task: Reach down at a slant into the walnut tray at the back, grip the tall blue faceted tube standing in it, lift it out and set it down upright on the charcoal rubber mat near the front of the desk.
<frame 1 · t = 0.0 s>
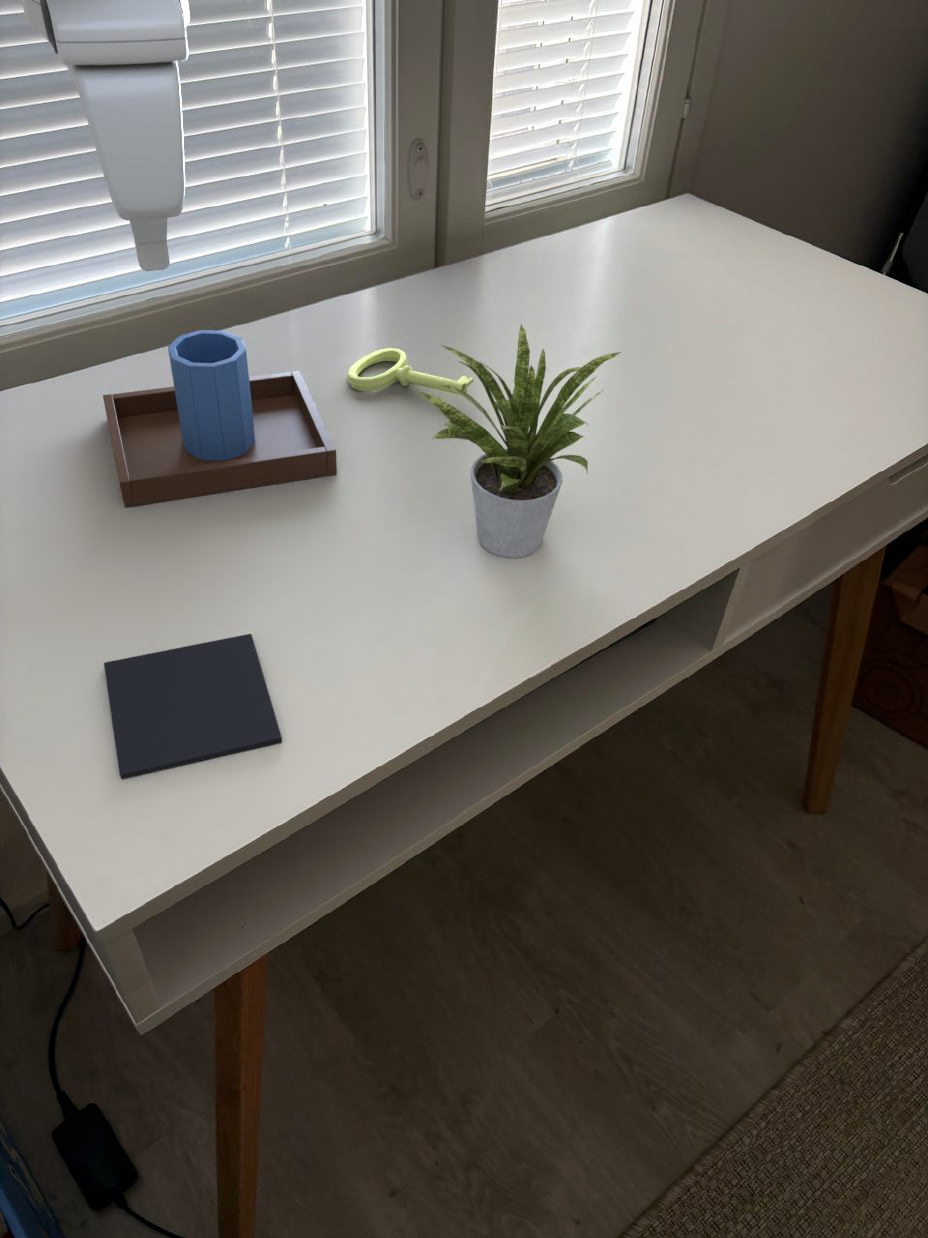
hand: (144, 234, 65), 23 cm above the table, tool pointing down, fingers open, 8 cm apart
mat: (191, 704, 67), on the table
tray: (219, 446, 89), on the table
house plant: (517, 530, 83), on the table
key: (406, 386, 98), on the table
blue faceted tube: (219, 441, 88), resting on tray
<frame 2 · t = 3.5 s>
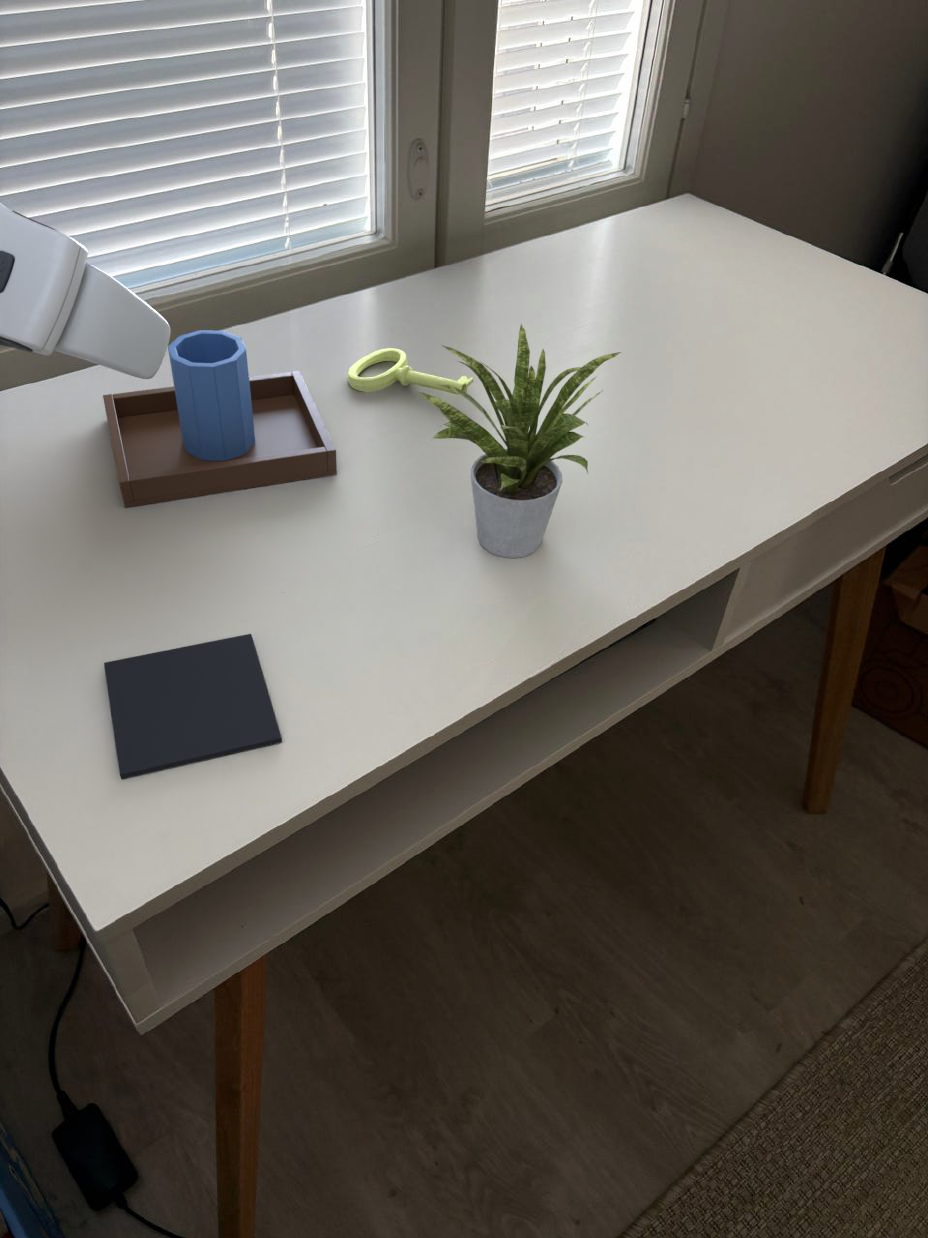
hand: (90, 343, 70), 16 cm above the table, tool tilted 45°, fingers open, 8 cm apart
nothing on the table moved.
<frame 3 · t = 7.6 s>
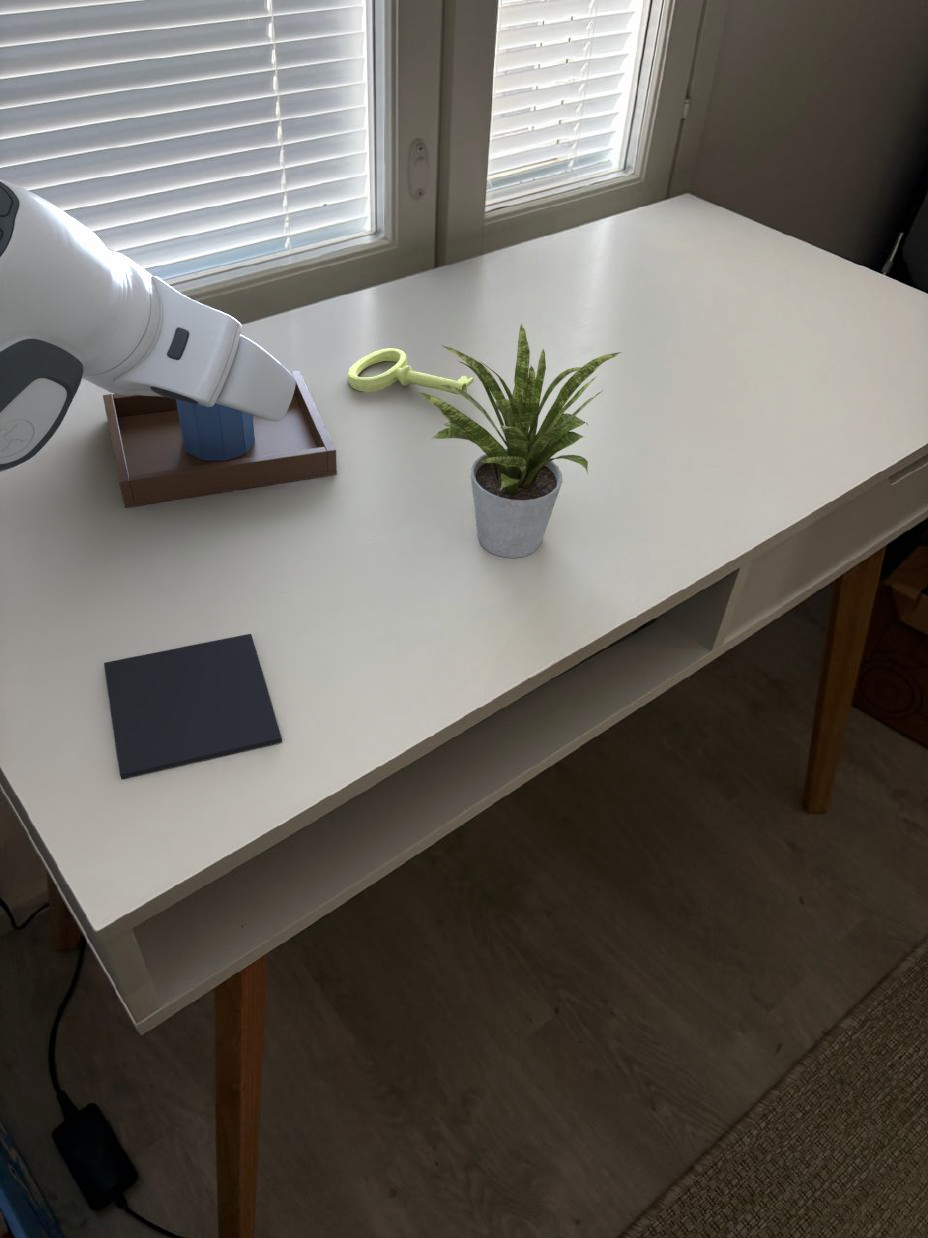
hand: (217, 387, 85), 5 cm above the table, tool tilted 45°, fingers closed on blue faceted tube, 6 cm apart
blue faceted tube: (219, 441, 88), point 1 cm above the table, touching gripper, tray
everything else where it was.
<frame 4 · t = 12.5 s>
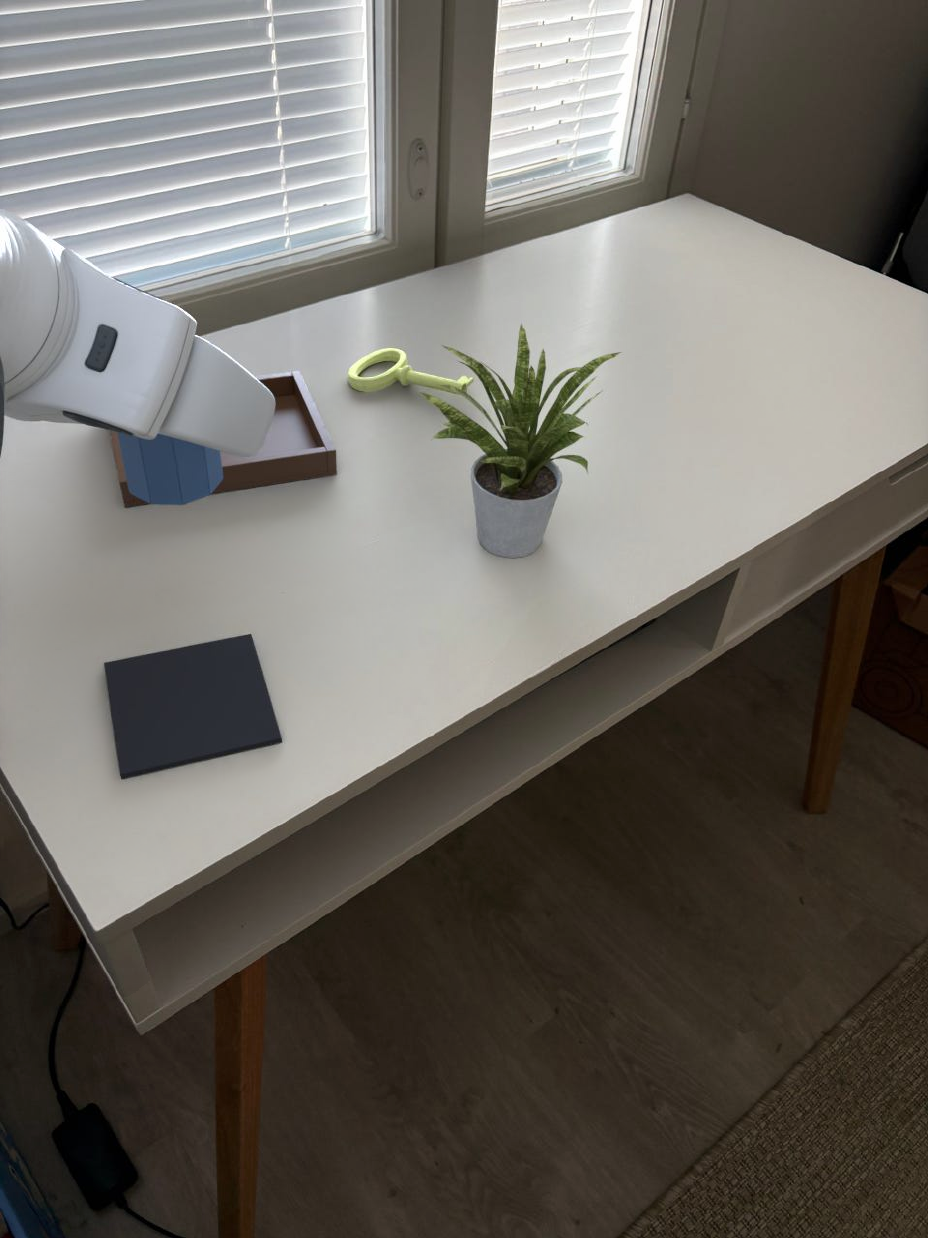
hand: (171, 407, 63), 16 cm above the table, tool tilted 45°, fingers closed on blue faceted tube, 6 cm apart
blue faceted tube: (174, 477, 66), point 11 cm above the table, touching gripper
everything else where it was.
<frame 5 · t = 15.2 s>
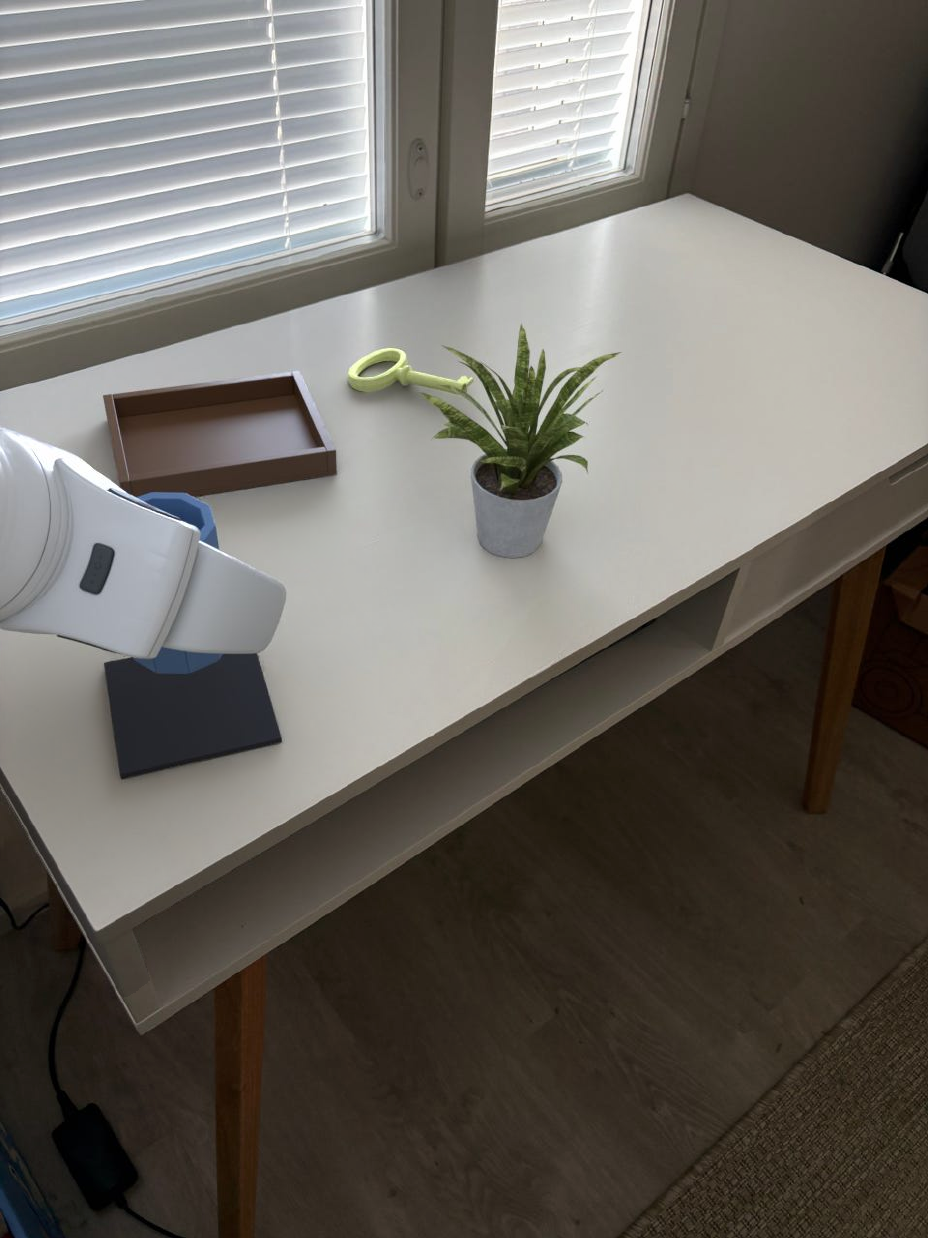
hand: (177, 573, 60), 11 cm above the table, tool tilted 45°, fingers closed on blue faceted tube, 6 cm apart
blue faceted tube: (181, 639, 63), point 6 cm above the table, touching gripper
everything else where it was.
when the fingers open (5 cm above the table, at t = 17.4 s): blue faceted tube stays where it is, resting on mat.
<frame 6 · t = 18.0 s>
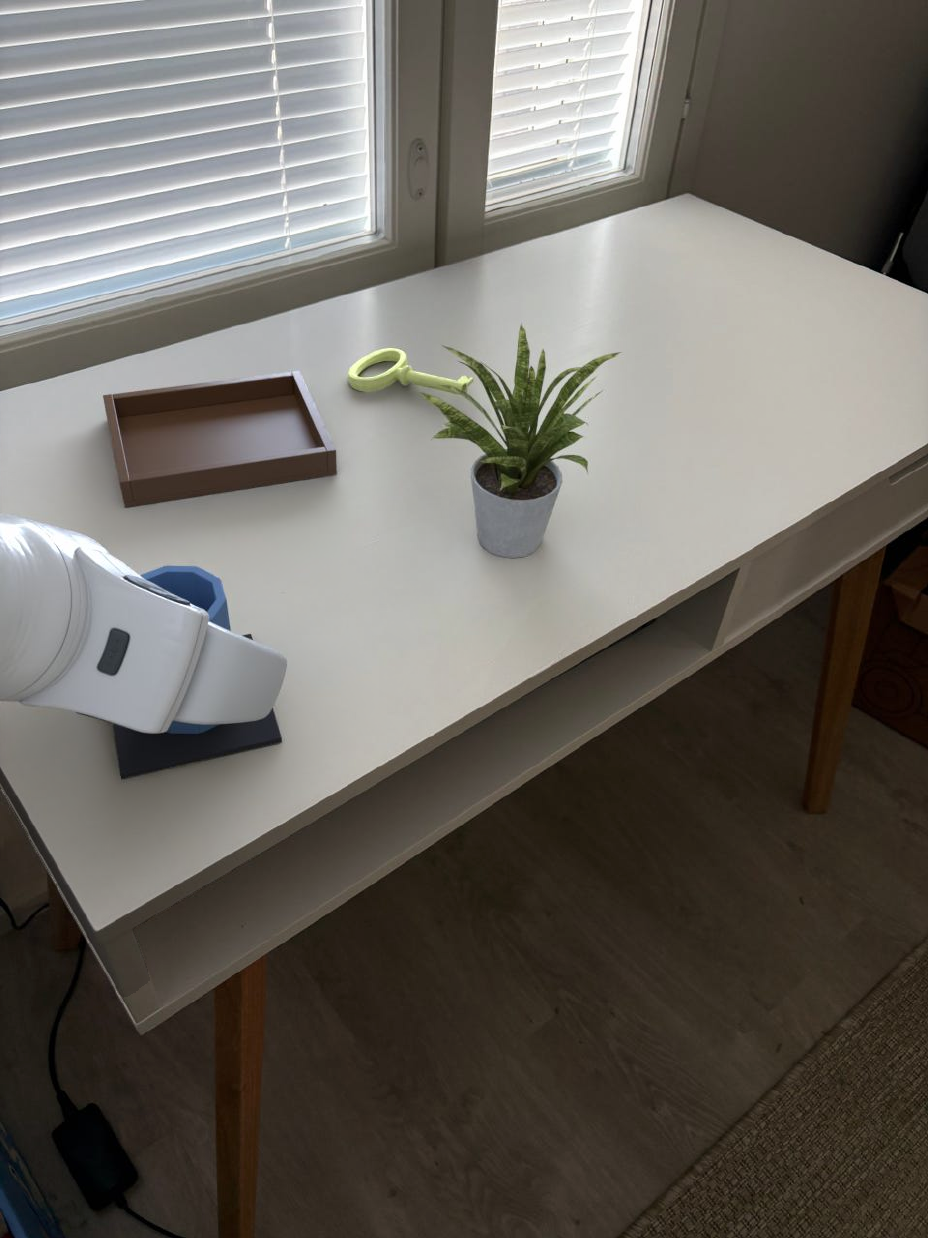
hand: (182, 634, 63), 6 cm above the table, tool tilted 45°, fingers open, 8 cm apart
blue faceted tube: (192, 699, 66), resting on mat
everything else where it was.
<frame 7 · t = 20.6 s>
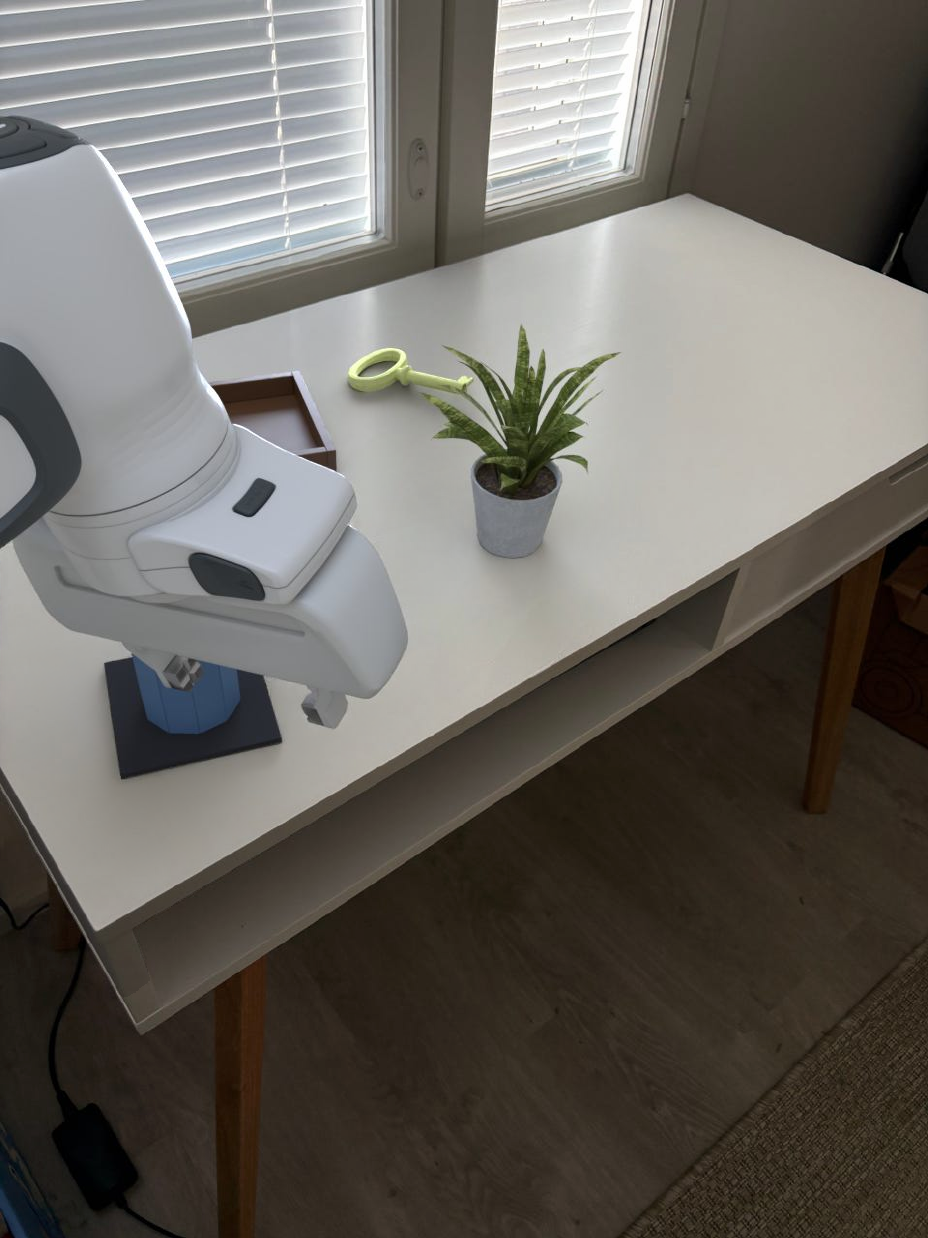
hand: (255, 698, 54), 10 cm above the table, tool pointing down, fingers open, 8 cm apart
nothing on the table moved.
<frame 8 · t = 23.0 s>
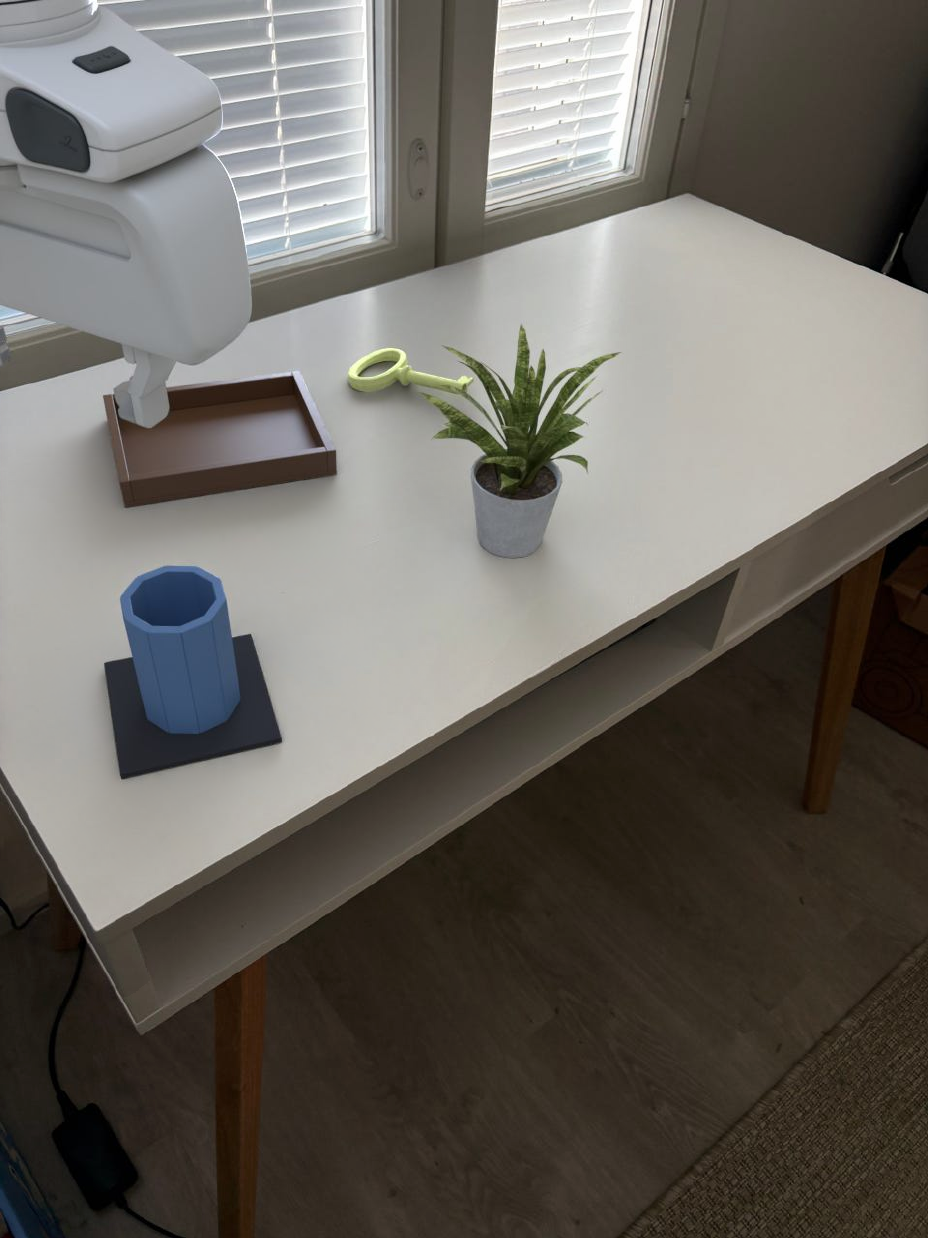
hand: (64, 390, 47), 25 cm above the table, tool pointing down, fingers open, 8 cm apart
nothing on the table moved.
at the end: blue faceted tube inside the target area on the mat (0.1 cm from its centre), point 0.5 cm above the mat's base; blue faceted tube tilted 0°; blue faceted tube touching mat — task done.
